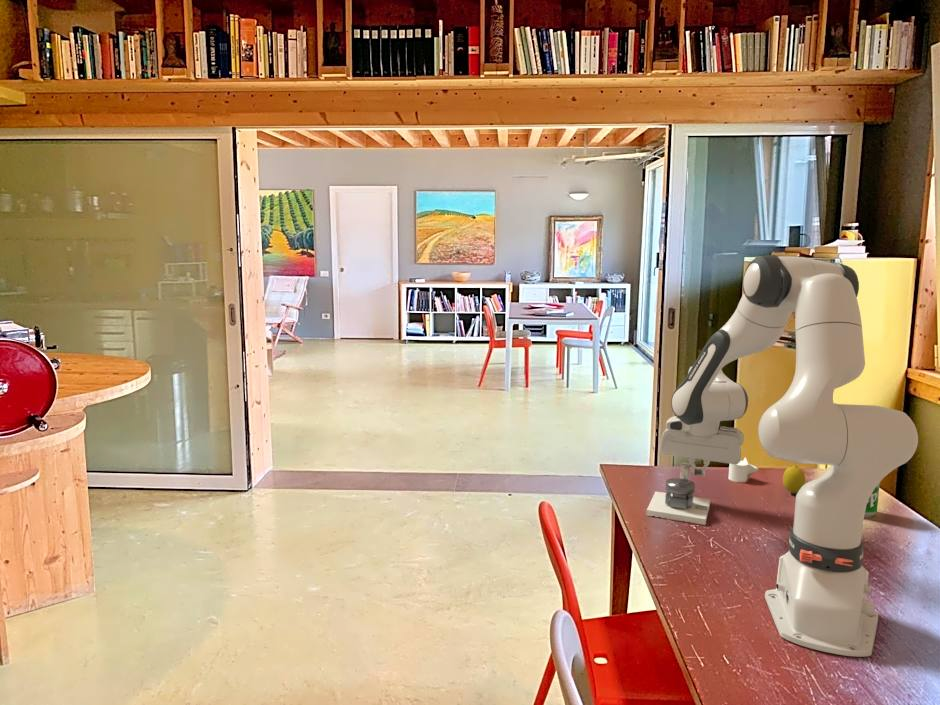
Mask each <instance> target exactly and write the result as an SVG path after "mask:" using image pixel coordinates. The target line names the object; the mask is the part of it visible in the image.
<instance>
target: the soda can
mask: <svg viewBox="0 0 940 705" xmlns="http://www.w3.org/2000/svg"><path fill="white" fill-rule="evenodd" d="M880 485H881V482H880V483H879V484H878V485H877V486H876V488H875V489H874V491H873V492H872V494H871V496H870V498H869V500H868V503H867V506H866V510H865V515H864V519H865V518H867V519H868V518H872V517H873V516H875V515H876V514H877V513H878V505H879V494H880Z"/></svg>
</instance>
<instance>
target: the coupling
mask: <svg viewBox="0 0 940 705" xmlns="http://www.w3.org/2000/svg"><path fill="white" fill-rule="evenodd" d="M679 468H680V469H679V470H680V471H679V472H680V473H679V477H675V478H674V477H673V478H668V479H666V480H665V491H666V492H665V493H666V498H665V504H669V502H670V504H669V506H671V507H678V508H684V509H686V503H687V501H688V507H689V508H692V505H693V498H694V497H695V496H694V495H695V488H696V487H695V486H696V484H695V482H694V481H692V480H690V473H691V465H690V463H689V462H687V461H686V462H685V461H684V462H683V461H682V462H680V467H679ZM671 494H673V496H674V494H676V495H686V498H680V497H673V496H671Z"/></svg>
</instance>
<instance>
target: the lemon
mask: <svg viewBox="0 0 940 705" xmlns="http://www.w3.org/2000/svg"><path fill="white" fill-rule="evenodd" d="M782 483H783V486H784V488H785V489H786V490H787V491H788V492H790V493H791V494H792V495H794V494H797V493H798V491H799V490H800V488H801V487H802V486H803V485H804V484H806V475H805V472H804V471H803V469H802V468H800V467H798V466H797V465H793V466H792V465H791V466H789V467H787V468H786V469H785V470H784V473H783V474H782Z"/></svg>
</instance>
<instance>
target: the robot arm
mask: <svg viewBox="0 0 940 705" xmlns="http://www.w3.org/2000/svg"><path fill="white" fill-rule="evenodd" d="M859 284H860V282H859V277H858V275H857V272H856V271H855V269H853V268H852V267H850V266H848V265H845V264H843V263H841V262H840V263H839V262H834V261H833V262H829V261H823V260H821V259H820V260H819V259H813V258H808V257H805V256H791V255H789V256H787V255H786V256H783V255H782V256H777V255H774V254H767V255H766V254H765V255H760V256H756V257H755V258H753V259H752V261H750V262H749V263H748V265H747V267H746V268H745V271H744V274H743V277H742V291H743V294H742V296H741V298H740V300H739V302H738V304H737V307H736V308H735V311H734V312H733V314H731V317H730V318H729V319H728V320H727V322H725V324H724V325H723V326H722V327H721V328H720V329H719V330H717V331H716V332H714V333H713V334H712V335H711V336H710V337H709V338H708V340H707V342H706V343H705V344H704V347H703V348H702V349H701V352H700V353H699V355H698V357H697V358H696V360H695V362H694V363H693V365H691V366H690V367H689V369H688V372H687V375H686V377H685V378H684V380H682V382H681V383H679V385H678V386H677V387H676V389H675V391H674V392H673V394H672V395H671V396H672V397H671V400H670V401H671V402H670V404H671V410H672V412H673V414H674V415H673V416H671V417H669V418H668V419H667V420H666V422H665V430H664V431H663V432H662V435H661V439H660V444H659V451H660V453H661V454H662V455H663V456H671V457H680V458H688V463H690V468H691V469H692V475H693V476H701V477H705V475H706V474H705V473H706V469H707V468H708V466H709V465H710V464H711V462H716V463H723V464H738V463H739V462H740V461H742V445H743V443H744V439H745V437H744V436H745V435H744V433H743V431H742V430H740V429H738V428H737V427H727V426H724V425H723V426H722V425H720V423H721V422H723V421H726V422H727V421H734V420H736V421H737V420H740V419H742V417H743V416H744V415H745V413H746V412H747V410H748V406H749V397H748V392H747V391H746V389H745V387H744V386H742V385H741V384H740V383H738V382H734V381H733V380H731V379H730V378H729V377H728V376H727V375H726V374H725V373H724V372H723V368H724V367H725V366H726V365H729V364H730V363H731V362H734V361H736V360H738V359H741V358H744V357H746V356H751V355H754V354H758V353H760V352H761V353H762V352H764V351H766V350H768V349H770V348H772V347H773V346H774V345H775V344H776V343H777V342H778V341H779V339H780V338H781V337H782V335H783V334H784V331H785V329H786V327H787V325H788V323H789V320H790V318H791V316H792V314H793V313H794V316H795V317H794V320H795V321H794V324H795V325H794V328H795V329H794V330H795V331H794V332H795V370H794V371H795V372H794V374H793V379H792V381H791V384H790V385H789V388H788V389H787V391H786V392H785V394H784V395H783V396H782V397H781V398H780V399H779V400H778V401H776V402H775V403H773V404H772V405H770V406H769V407H768V408H767V409H766V410H765V411H764V413H762V415H761V417H760V420H759V422H758V428H757V433H758V439H759V442H760V445H761V447H762V448H763V450H764V451H765V452H766V454H767V455H769V456H770V457H771V458H775V459H778V460H782V461H785V462H790V463H795V464H802V465H803V464H805V465H806V464H808V465H827V466H830V467H829V468H828V469H827V470H826V472H824V473H823V474H822V475H821V476H820V477H817V478H816V479H812V480H810V481H808V482H805V484H804V485H803V486H802V487H801V488H800V490H799V491H798V492H796V495H795V501H794V502H795V503H794V505H795V506H794V516H793V527H792V528H791V530H790V533H789V537H788V551H787V552H786V553H784V554H782V555H781V556H779V560H778V568H777V569H778V570H777V577H776V585H775V586H776V588H774V589H768V590H765V593H764V598H765V601H766V603H767V606H768V609H769V611H770V614H771V616H772V619H773V621H774V624H775V627H776V629H777V632H778V634H779V636H780V637H781V638H783V639H785V640H787V641H788V642H791V643H794V644H796V645H799V646H802V647H805V648H808V649H811V650H816V651H820V652H824V653H830V654H832V655H834V654H835V655H840V656H846V657H856V658H857V657H871V656H872V654H873V649H874V644H875V641H876V640H875V639H876V636H877V635H876V634H877V628H878V624H879V623H878V622H879V612H878V611H876V610H874V608H875V602H873V601H868V600H867V594H868V595H871V594H872V590H873V587H872V585H869V584H868V582H869V574H870V573H869V571H868V570H867V569H866V568H865V567H864V566H863V558H864V542H863V540H862V534H863V528H864V520H865V518H864V515H865V510H866V506H867V503H868V500H869V498H870V496H871V494H872V492H873V491H874V489H875V488H876V486H877V485H878V484H879V483H880V484H881V481H883V479H884V478H886V476H888V474H890V473H892V472H893V471H894V470H895V469H897V468H899V467H900V466H902V465H904V464H905V465H906V463H908V462H909V460H911V459H912V457H913V456H914V454H915V453H916V450H917V448H918V444H919V433H918V430H917V428H916V424H915V423H914V421H913V420H912V418H911V417H910V416H908V414H907V413H906V412H904V411H902V410H898V409H894V408H889V407H885V406H880V405H875V404H874V405H873V404H872V405H871V404H869V405H867V404H847V403H846V404H845V403H844V404H843V403H834V392H835V389H838V388H841V387H843V386H845V385H847V384H849V383H851V382H853V381H856V380H857V379H858V378H859V377H860V376H861V374H862V373H863V372H864V370H865V366H866V362H865V360H866V358H865V357H866V356H865V347H864V335H863V326H862V325H863V324H862V315H861V310H860V306H859V302H858V299H857V298H858V294H859V290H860V285H859ZM696 460H700V461H703V467H699V466H696V463H695V462H696Z"/></svg>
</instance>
